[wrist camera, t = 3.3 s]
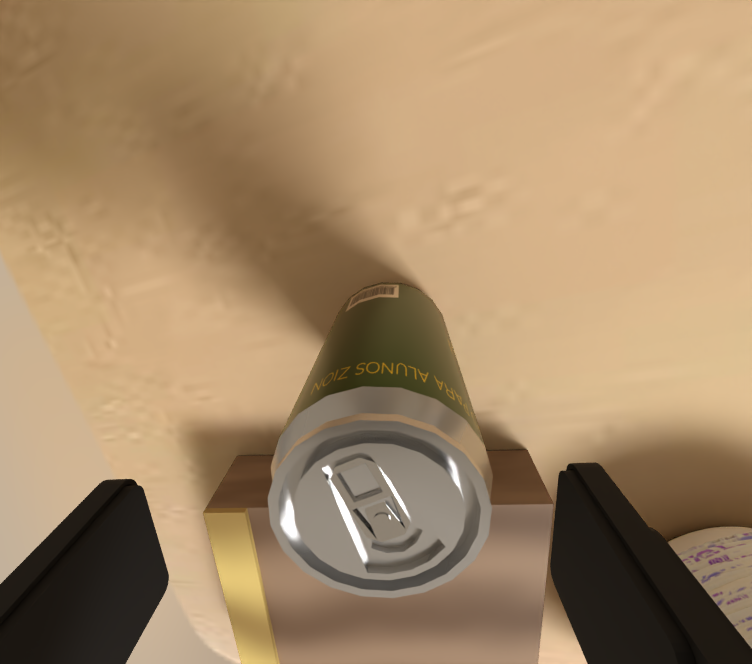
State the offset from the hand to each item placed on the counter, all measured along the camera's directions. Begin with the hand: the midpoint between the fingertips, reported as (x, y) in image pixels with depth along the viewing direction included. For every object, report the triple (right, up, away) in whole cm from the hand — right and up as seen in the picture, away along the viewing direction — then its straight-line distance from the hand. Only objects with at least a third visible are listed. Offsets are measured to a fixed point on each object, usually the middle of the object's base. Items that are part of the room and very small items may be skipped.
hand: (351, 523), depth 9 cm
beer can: (+1, +4, +11) cm, 12 cm away
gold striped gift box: (+1, -9, +16) cm, 18 cm away
